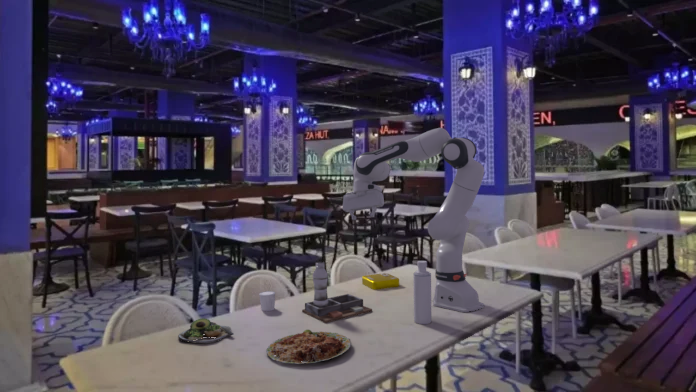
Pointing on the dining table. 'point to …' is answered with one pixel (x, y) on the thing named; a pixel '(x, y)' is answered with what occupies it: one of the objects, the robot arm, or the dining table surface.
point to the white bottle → (422, 294)
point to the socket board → (337, 308)
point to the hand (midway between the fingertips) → (363, 218)
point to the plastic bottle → (320, 286)
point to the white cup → (267, 300)
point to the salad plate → (205, 331)
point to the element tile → (380, 281)
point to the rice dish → (308, 347)
